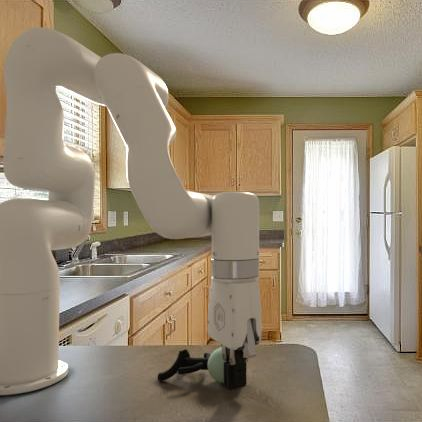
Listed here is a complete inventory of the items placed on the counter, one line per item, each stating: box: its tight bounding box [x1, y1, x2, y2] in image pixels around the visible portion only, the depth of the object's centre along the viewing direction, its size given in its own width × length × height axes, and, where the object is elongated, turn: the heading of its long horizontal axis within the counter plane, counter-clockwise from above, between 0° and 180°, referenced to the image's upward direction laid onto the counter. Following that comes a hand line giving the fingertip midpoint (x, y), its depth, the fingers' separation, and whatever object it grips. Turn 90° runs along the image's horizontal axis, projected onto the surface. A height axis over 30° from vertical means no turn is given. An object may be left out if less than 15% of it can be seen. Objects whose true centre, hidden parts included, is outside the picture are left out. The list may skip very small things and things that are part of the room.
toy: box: [157, 346, 226, 384], centre depth 68 cm, size 10×6×15 cm
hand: (235, 386), depth 60 cm, fingers closed
